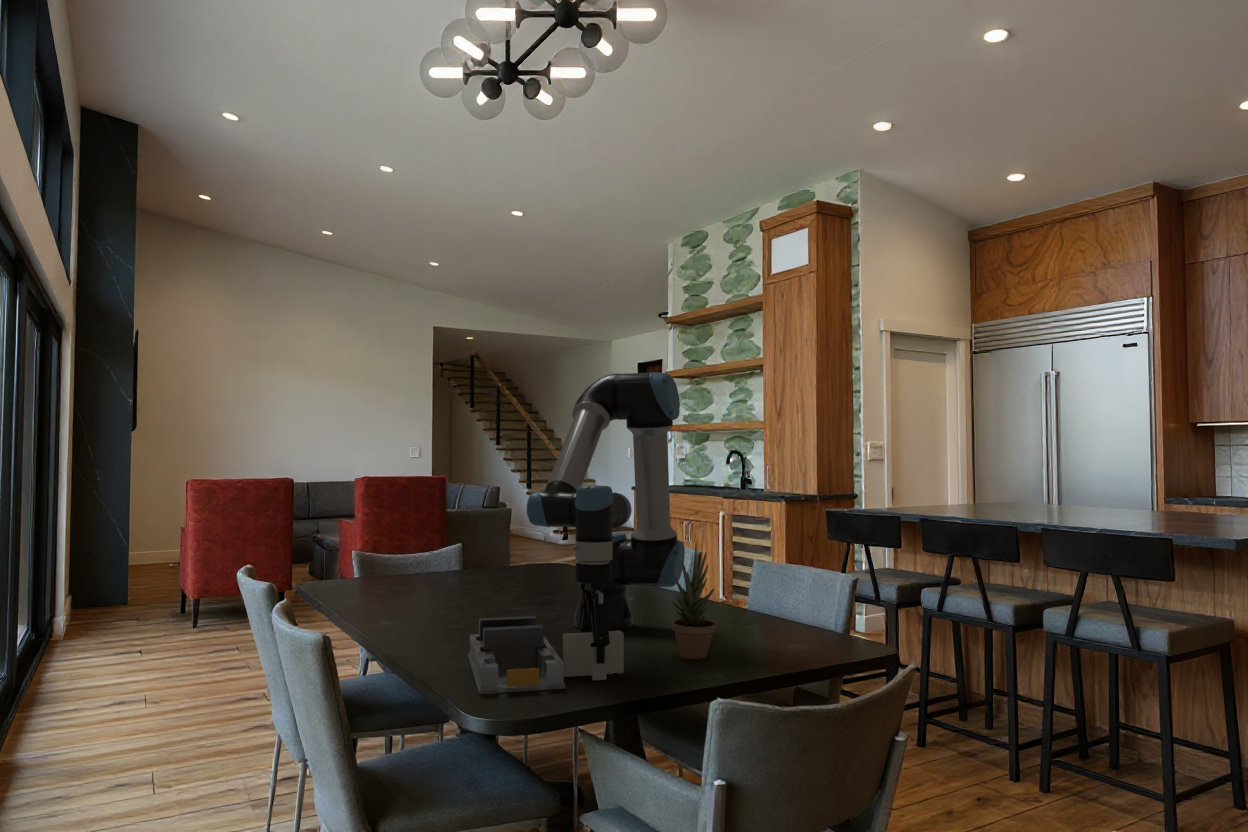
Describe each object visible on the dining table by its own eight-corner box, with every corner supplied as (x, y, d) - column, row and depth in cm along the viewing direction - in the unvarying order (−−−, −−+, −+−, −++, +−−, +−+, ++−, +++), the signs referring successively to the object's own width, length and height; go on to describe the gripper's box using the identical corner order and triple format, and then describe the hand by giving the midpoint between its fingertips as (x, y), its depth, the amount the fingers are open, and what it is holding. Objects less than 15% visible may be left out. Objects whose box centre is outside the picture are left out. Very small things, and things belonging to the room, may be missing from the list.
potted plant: (720, 660, 178) (720, 544, 179) (677, 662, 177) (677, 545, 178) (708, 649, 188) (708, 539, 189) (667, 650, 186) (667, 540, 188)
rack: (468, 656, 181) (468, 615, 181) (541, 652, 185) (541, 612, 185) (479, 695, 152) (479, 646, 152) (565, 689, 156) (565, 641, 156)
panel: (562, 673, 167) (562, 633, 168) (620, 670, 170) (620, 630, 171) (564, 677, 165) (565, 636, 165) (623, 673, 168) (623, 633, 168)
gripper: (565, 555, 179) (564, 659, 178) (587, 570, 156) (586, 689, 155) (599, 554, 181) (598, 657, 180) (625, 569, 158) (625, 686, 157)
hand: (592, 672), depth 167 cm, fingers open, 11 cm apart
